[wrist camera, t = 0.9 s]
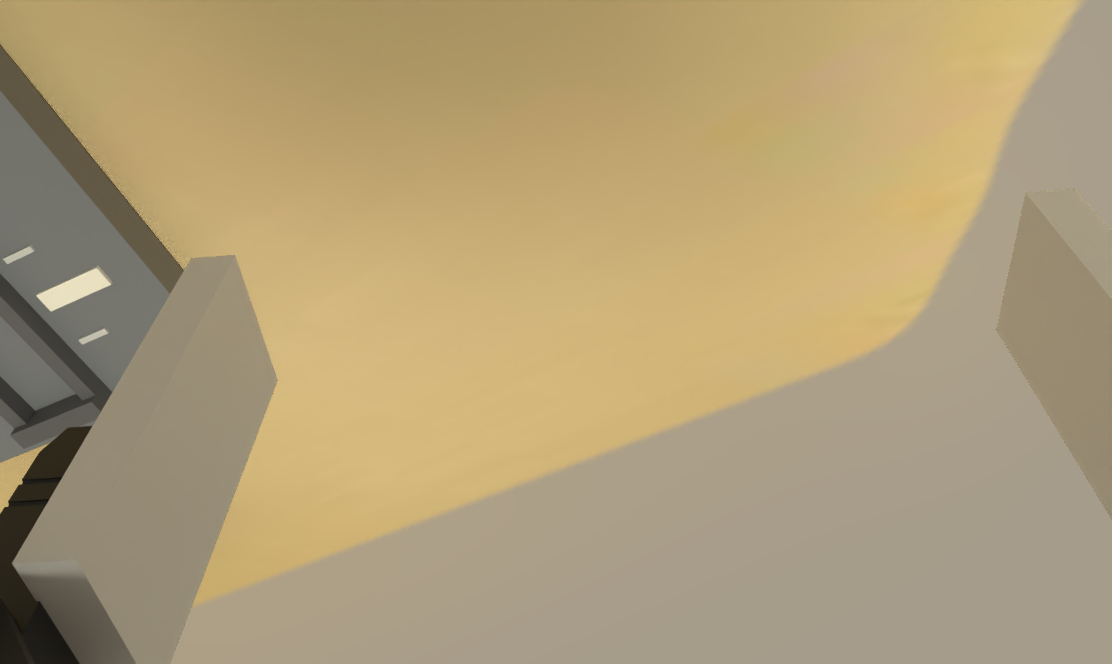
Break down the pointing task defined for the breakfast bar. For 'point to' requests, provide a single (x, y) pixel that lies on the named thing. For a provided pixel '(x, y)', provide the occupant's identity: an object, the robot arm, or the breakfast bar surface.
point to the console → (65, 274)
